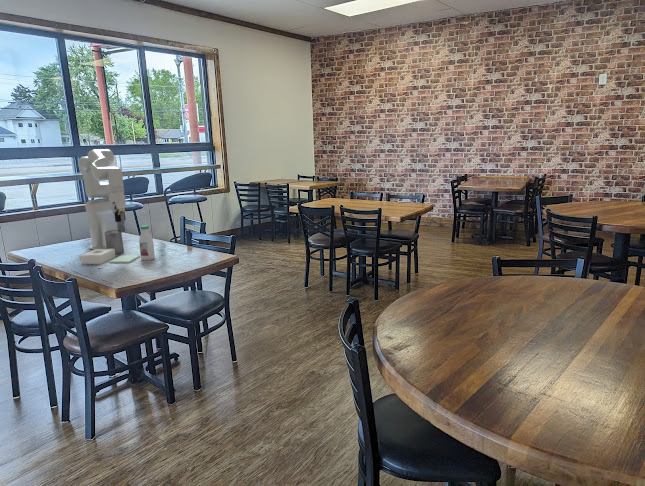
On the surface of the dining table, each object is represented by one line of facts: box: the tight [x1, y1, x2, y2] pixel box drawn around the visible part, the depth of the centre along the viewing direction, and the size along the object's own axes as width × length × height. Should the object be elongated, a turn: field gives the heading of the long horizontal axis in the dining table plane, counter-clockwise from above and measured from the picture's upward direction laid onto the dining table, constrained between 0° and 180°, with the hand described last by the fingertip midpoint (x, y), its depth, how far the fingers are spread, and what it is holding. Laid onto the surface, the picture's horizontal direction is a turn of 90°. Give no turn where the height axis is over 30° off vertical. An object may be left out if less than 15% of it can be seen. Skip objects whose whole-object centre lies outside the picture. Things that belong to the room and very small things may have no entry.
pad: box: [108, 254, 141, 264], centre depth 269 cm, size 14×12×1 cm
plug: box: [116, 208, 127, 233], centre depth 263 cm, size 6×6×13 cm
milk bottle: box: [138, 224, 156, 261], centre depth 268 cm, size 8×8×20 cm
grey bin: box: [105, 229, 125, 255], centre depth 286 cm, size 10×10×15 cm
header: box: [80, 248, 117, 265], centre depth 269 cm, size 16×12×5 cm
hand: (120, 220), depth 264 cm, fingers closed on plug, 4 cm apart
